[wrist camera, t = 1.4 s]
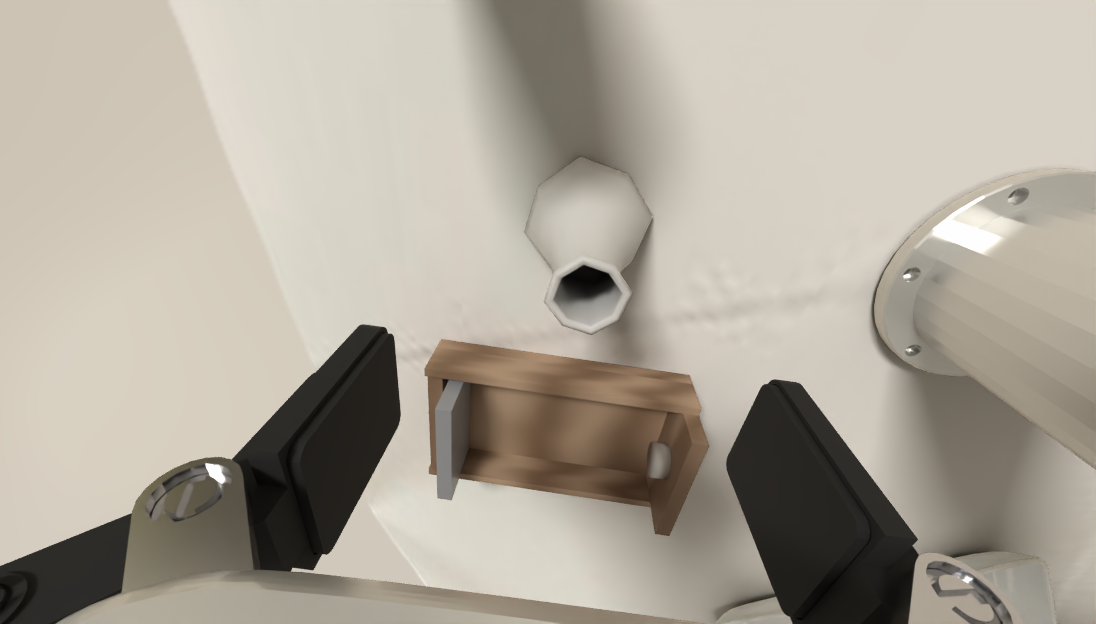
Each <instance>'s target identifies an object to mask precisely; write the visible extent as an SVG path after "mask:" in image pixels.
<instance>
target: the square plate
mask: <svg viewBox="0 0 1096 624" xmlns="http://www.w3.org/2000/svg"><path fill="white" fill-rule="evenodd" d="M954 559H956V560H958V561H960V562H962V563H964V564H966V565H967V566H969V567H970V568H972V569H973V570H975V571H976V572H978V573H979V574H981V575H982V576H984V577H985V578H986V579H987V580H988V581H990V582H991V583H992V584H993V585H994V586H995V587H997V588H998V589H999V590H1000V591H1001V592H1002V593H1003V594H1004V596H1005V597H1006V598H1007V599H1008V600H1009V601H1010V602H1011V603H1012V604H1013V606H1014V608H1015V609H1016V611H1017V612H1018V614H1019V615H1020V617H1021V618H1022V621H1023V624H1057V619H1056V612H1055V603H1054V597H1053V591H1052V585H1051V580H1050V575H1049V569H1048V566H1047V564H1046V562H1045V561H1043V560H1042V559H1040V558H1037V557H1031V556H1027V555H1023V554H1018V553H1012V552H1003V551H996V552H983V553H976V554H970V555H965V556H960V557H956V558H954ZM716 624H792V621H791V619H790V617H789V616H787V615H785V614H784V612H783V611H782V609H781V607H780V605H779V603H778V600H777V598H776V597H773V598H769V599H765V600H761V601H756V602H752V603H749V604H745V605H741V606H738V607H735V608H733V609H730V610H728V611H727V612H725V613H724V614H723V615H722V616H721V617H720V618H719V619H718V621H717V622H716Z"/></svg>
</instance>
